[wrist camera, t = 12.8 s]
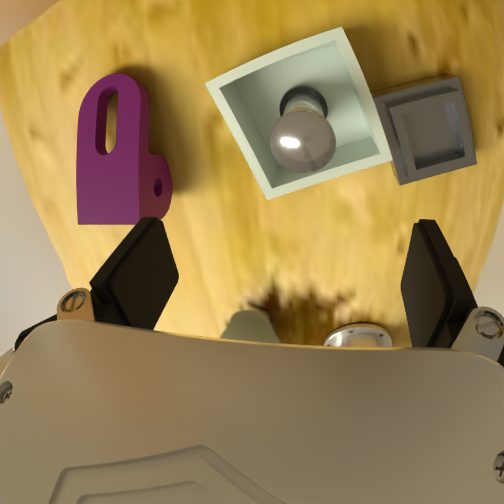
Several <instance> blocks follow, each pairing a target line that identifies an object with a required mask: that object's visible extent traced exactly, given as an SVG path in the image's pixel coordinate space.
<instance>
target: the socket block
mask: <svg viewBox="0 0 504 504" xmlns="http://www.w3.org/2000/svg"><path fill="white" fill-rule="evenodd" d="M371 96H372V98H373V101H374V104H375V107H376V109H377V112H378V115H379V118H380V121H381V124H382V127H383V130H384V133H385V136H386V139H387V143H388V146H389V149H390V153H391V156H392V161H391V165H392V169H393V172H394V175H395V177H396V179H397V181H398V183H399V185H404V184H407V183H411V182H414V181H418V180H421V179H425V178H428V177H432V176H435V175H439V174H443V173H446V172H450V171H453V170H457V169H461V168H464V167H468V166H472V165H475V164H477V161H476V154H475V147H474V141H473V135H472V129H471V124H470V119H469V114H468V110H467V105H466V101H465V97H464V93H463V89H462V85H461V81H460V78H459V77H457V76H454V75H451V74H444V75H439V76H435V77H430V78H426V79H422V80H417V81H413V82H409V83H405V84H402V85H398V86H394V87H390V88H387V89H383V90H380V91H376V92H373V93H371Z"/></svg>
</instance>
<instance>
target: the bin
mask: <svg viewBox="0 0 504 504" xmlns="http://www.w3.org/2000/svg"><path fill="white" fill-rule="evenodd" d="M205 85H206V87H207V89H208V90H209V92H210V94H211V96H212V98H213V99H214V101H215V103H216V105H217V107H218V108H219V110H220V112H221V114H222V116H223V118H224V119H225V121H226V123H227V125H228V127H229V129H230V130H231V132H232V134H233V136H234V138H235V140H236V142H237V143H238V145H239V147H240V149H241V151H242V153H243V155H244V157H245V159H246V160H247V162H248V164H249V166H250V168H251V170H252V172H253V174H254V176H255V178H256V180H257V181H258V183H259V185H260V187H261V189H262V191H263V193H264V195H265V197H266V199H267V200H269V199H272V198H275V197H278V196H281V195H284V194H287V193H290V192H293V191H296V190H299V189H302V188H305V187H308V186H311V185H314V184H317V183H320V182H323V181H327V180H330V179H333V178H336V177H339V176H342V175H346V174H349V173H352V172H355V171H359V170H362V169H365V168H369V167H372V166H375V165H379V164H382V163H386V162H389V161H392V156H391V153H390V149H389V146H388V143H387V139H386V136H385V133H384V130H383V127H382V124H381V121H380V118H379V115H378V112H377V109H376V107H375V104H374V101H373V98H372V96H371V93H370V90H369V88H368V85H367V83H366V80H365V78H364V75H363V73H362V70H361V68H360V66H359V63H358V61H357V59H356V56H355V54H354V52H353V50H352V47H351V45H350V43H349V41H348V39H347V37H346V34H345V32H344V30H343V28H342V27H339V28H336V29H333V30H329V31H326V32H323V33H320V34H317V35H314V36H312V37H309V38H306V39H303V40H301V41H298V42H295V43H293V44H290V45H287V46H285V47H282V48H280V49H277V50H275V51H273V52H270V53H268V54H265V55H263V56H261V57H258V58H256V59H254V60H252V61H250V62H247V63H245V64H243V65H241V66H239V67H237V68H235V69H232V70H230V71H228V72H226V73H224V74H222V75H220V76H218V77H216V78H214V79H213V80H211V81H209V82H207V83H205ZM297 85H308V86H311V87H314V88H316V89H317V90H318V91H319V92H320V93H321V94H322V95H323V96H324V98H325V101H326V103H327V107H328V115H327V118H326V119H327V120H328V121H329V123H330V124H331V126H332V128H333V131H334V134H335V138H336V149H335V153H334V155H333V157H332V159H331V160H330V162H329V163H328V164H327V165H326V166H324V167H323V168H321V169H320V170H317V171H315V172H311V173H298V172H294V171H291V170H289V169H287V168H285V167H283V166H282V165H281V164H280V163H279V162H278V161H277V160H276V158H275V157H274V155H273V153H272V151H271V147H270V137H271V133H272V130H273V127H274V125H275V123H276V122H277V120H278V119H279V118H280V117H281V116H280V111H279V107H280V102H281V100H282V97H283V95H284V94H285V93H286V92H287V91H288V90H289V89H290V88H292V87H294V86H297Z"/></svg>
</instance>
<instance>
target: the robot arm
mask: <svg viewBox="0 0 504 504" xmlns="http://www.w3.org/2000/svg"><path fill="white" fill-rule="evenodd" d="M178 279H179V274H178V270H177V267H176V264H175V261H174V258H173V254H172V251H171V248H170V244H169V241H168V238H167V234H166V231H165V228H164V224H163V222H162V221H161V220H159V218H158V217H142V218H141V219H140V221H139V222H138V223H137V224H136V225H135V226H134V228H133V229H132V230H131V231H130V232H129V233H128V235H127V236H126V237H125V238H124V239H123V241H122V242H121V243H120V244H119V245H118V247H117V248H116V249H115V250H114V252H113V253H112V254H111V255H110V257H109V258H108V259H107V260H106V262H105V263H104V264H103V265H102V267H101V268H100V269H99V271H98V272H97V273H96V274H95V276H94V277H93V278H92V280H91V281H90V282H89V283H90V285H91V287H92V289H91V291H90V292H89V290H87V289H86V288H76V289H73V290H71V291H69V292H68V293H66V294H65V295H64V296H63V297H62V298H61V299H60V301H59V303H58V306H57V314H56V315H54V316H52V317H50V318H48V319H46V320H44V321H42V322H40V323H38V324H36V325H34V326H32V327H30V328H28V329H26V330H24V331H22V332H21V333H20V335H19V337H18V339H17V340H16V343H15V350H13V349H12V348H11V349H10V350H9V351H7V352H6V353H5V354H4V355H2V356H1V357H0V504H504V318H503V317H502V315H501V314H499V313H498V312H497V311H496V310H494V309H492V308H489V307H478V306H477V304H476V301H475V299H474V296H473V294H472V291H471V289H470V287H469V284H468V282H467V280H466V278H465V275H464V273H463V271H462V269H461V267H460V265H459V262H458V260H457V259H456V257H454V256H453V254H452V252H451V250H450V248H449V246H448V244H447V242H446V240H445V238H444V236H443V234H442V232H441V230H440V228H439V226H438V224H437V223H436V221H435V220H428V219H420V220H419V222H418V223H414V225H413V230H412V235H411V240H410V245H409V250H408V254H407V259H406V263H405V267H404V271H403V276H402V280H401V293H402V297H403V302H404V306H405V311H406V316H407V321H408V326H409V331H410V337H411V343H412V347H392V339H391V336H390V334H389V332H388V331H387V330H385V329H384V328H382V327H380V326H377V325H373V324H366V323H359V324H351V325H347V326H344V327H341V328H339V329H337V330H335V331H334V332H332V333H331V334H330V335H329V336H328V337H327V338H326V340H325V342H324V346H313V345H294V344H278V343H264V342H251V341H240V340H229V339H220V338H211V337H202V336H193V335H185V334H177V333H170V332H162V331H155V330H153V329H154V327H155V325H156V323H157V321H158V319H159V317H160V315H161V313H162V311H163V309H164V308H165V306H166V304H167V302H168V300H169V298H170V296H171V294H172V292H173V290H174V288H175V286H176V284H177V283H178Z"/></svg>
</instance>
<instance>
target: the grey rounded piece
mask: <svg viewBox="0 0 504 504" xmlns="http://www.w3.org/2000/svg"><path fill="white" fill-rule="evenodd" d="M279 111H280V116H281V117H280V118H279V119H278V120H277V122H276V123H275V125H274V127H273V130H272V133H271V137H270V147H271V151H272V153H273V155H274V157H275V158H276V160H277V161H278V162H279V163H280V164H281V165H282V166H283V167H285V168H287V169H289V170H291V171H294V172H298V173H311V172H315V171H317V170H320V169H321V168H323V167H324V166H326V165H327V164H328V163H329V162H330V160H331V159H332V157H333V155H334V153H335V149H336V138H335V134H334V131H333V128H332V126H331V124H330V123H329V121H328V120H327V119H326V118H327V115H328V107H327V103H326V101H325V98H324V96H323V95H322V94H321V93H320V92H319V91H318V90H317V89H316V88H314V87H311V86H308V85H297V86H294V87H292V88H290V89H289V90H288V91H287V92H286V93H285V94H284V95H283V97H282V100H281V102H280V107H279Z"/></svg>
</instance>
